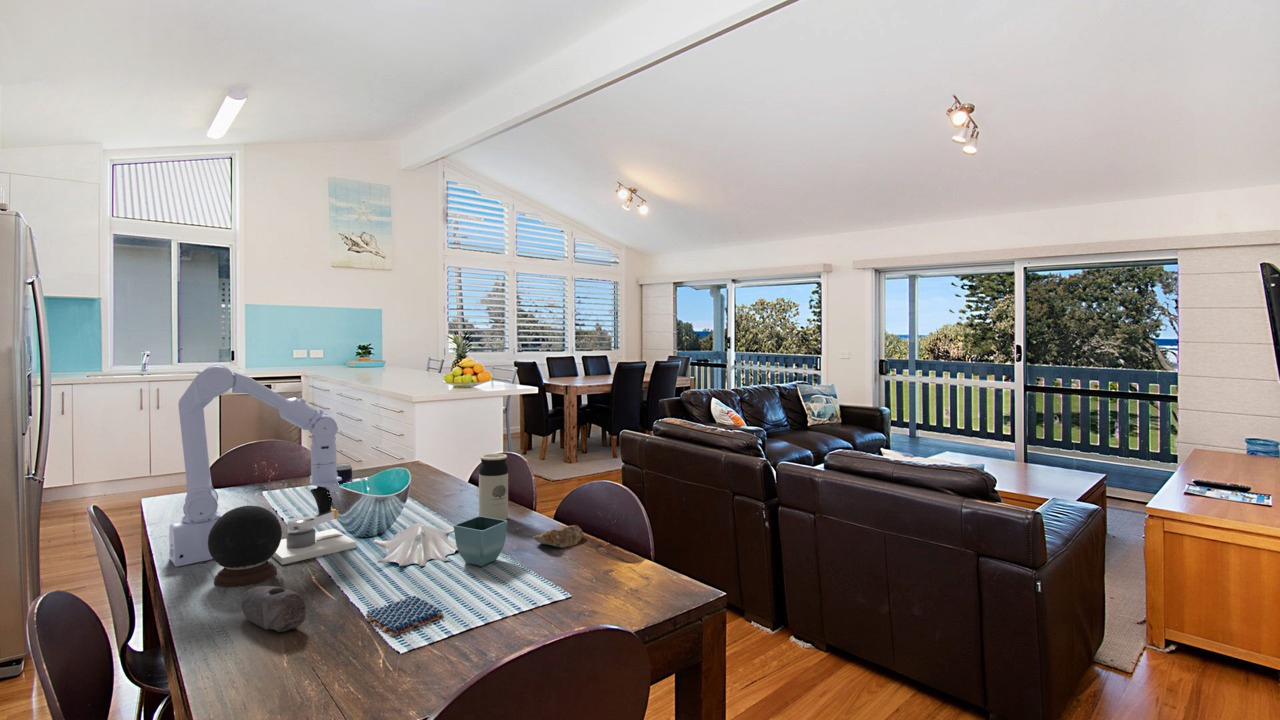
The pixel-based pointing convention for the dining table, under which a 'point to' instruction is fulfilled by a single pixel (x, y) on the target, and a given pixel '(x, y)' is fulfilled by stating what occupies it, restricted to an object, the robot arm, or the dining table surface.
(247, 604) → the perforated stone tool
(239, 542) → the black egg on stand
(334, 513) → the lever with orange knob
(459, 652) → the dining table surface
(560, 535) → the decorative stone
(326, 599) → the dining table surface
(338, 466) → the beverage can
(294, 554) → the board
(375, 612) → the woven mat
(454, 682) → the dining table surface
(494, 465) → the travel mug
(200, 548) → the robot arm
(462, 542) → the flower pot
